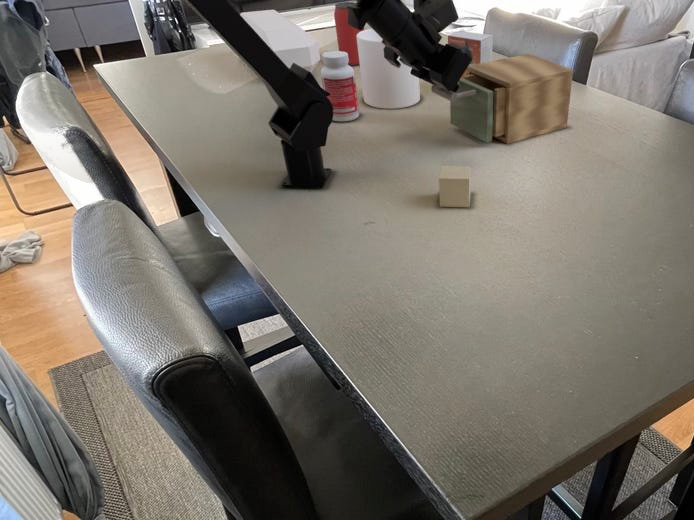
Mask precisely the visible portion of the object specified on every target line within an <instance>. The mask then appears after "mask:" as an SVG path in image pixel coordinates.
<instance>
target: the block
mask: <svg viewBox="0 0 694 520" xmlns="http://www.w3.org/2000/svg"><path fill="white" fill-rule="evenodd" d="M438 193H439V194H438V195H439V207H440V208H441V207H442V208H470V203H471V166H463V165H462V166H461V165H459V166H458V165H457V166H456V165H441V166H440V171H439V174H438Z"/></svg>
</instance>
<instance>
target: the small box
mask: <svg viewBox="0 0 694 520" xmlns="http://www.w3.org/2000/svg"><path fill="white" fill-rule="evenodd" d="M493 39H494V35H493V34H487V33H478V32H471V31H465V30H457V31H455V32H453V33H449V34H448V35H447V44H448V43H455V44H457V45H460V46H463V47H465V48H466V49H467V50H468V51H469V53H470V54H471V55H472V61H471V63H470V64H469V65H474V64H479V63H484V62H489V61H493V41H494V40H493ZM465 75H467V69H466V70H465V72H464V74H463V75H462V77H461V78H463V76H465Z"/></svg>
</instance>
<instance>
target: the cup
mask: <svg viewBox="0 0 694 520" xmlns="http://www.w3.org/2000/svg"><path fill="white" fill-rule="evenodd" d="M356 36H357V45H358V54H359V62H360V65H359V68H360V78H361V87H362V96H363V101H364V103H365V104H366V105H368V106H370V107H373V108H377V109H386V110H387V109H388V110H392V109H393V110H394V109H404V108H407V107H411V106H414V105H416V104H417V103H418V102H420V100H421V88H420V78H418V77H415V76H413V75H411V73H410V72H411V69H412V68H411V67H409V66H407V65H404V64H403V63H402V62H401V61H400V60H399V59H400V56H399V57H398V58H397V60H398V61H399V62H400V63H401V66H400V68H397V67H395V66H393V65H391V64H390V63H389V62H388V61H387V60H386V59H385V58H384V47H385V45H384V44H383V43H382V40H383V39H382V38H381V37H380V36H379V35H378V34H377V33H376V32H375V31H374V30H373V29H372V28H368V29H364V31H361V32H359V33H358V34H357V35H356Z"/></svg>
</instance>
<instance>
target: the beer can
mask: <svg viewBox="0 0 694 520" xmlns="http://www.w3.org/2000/svg"><path fill="white" fill-rule="evenodd" d="M355 3H356V2H354V1H343V2H337V3H336V4H334V7H335V8H334V13H333V17H334V24H335V32H336V40H337V47H338V51H342V52H346V53H348V58H349V62H348V65H349V66H360V62H359V54H358V45H357V36H356V35H357V34H358V33H359V32H361V31H364V30H365V27H364V28H363V29H362V30H361V31H360V30H358V29H355V28H353V27H351V26H349V25H348V11H347V6H352V5H354V4H355Z"/></svg>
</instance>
